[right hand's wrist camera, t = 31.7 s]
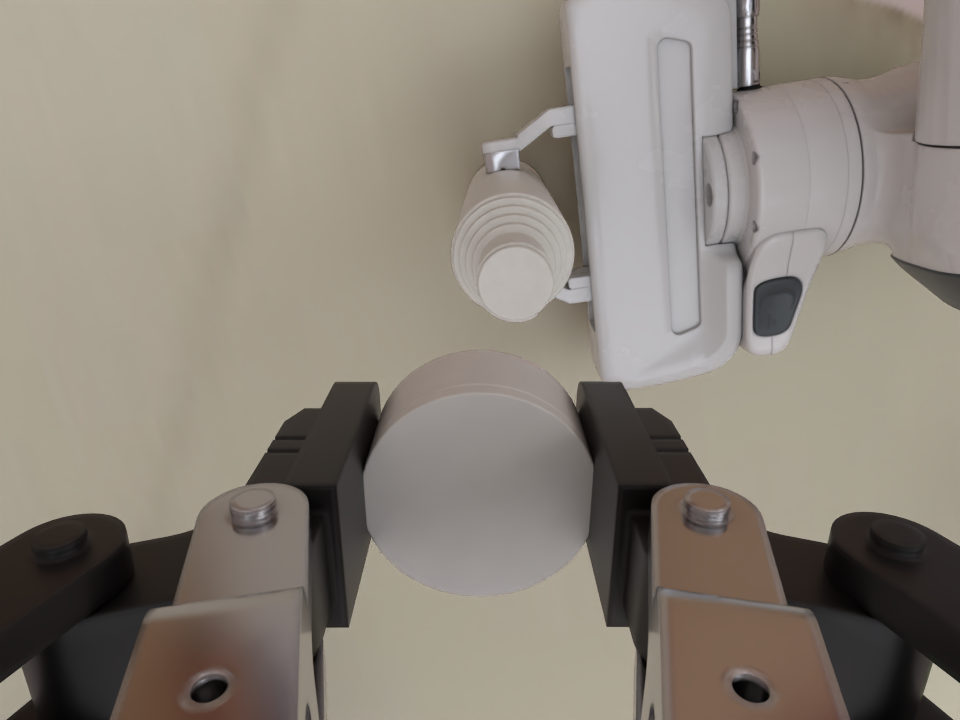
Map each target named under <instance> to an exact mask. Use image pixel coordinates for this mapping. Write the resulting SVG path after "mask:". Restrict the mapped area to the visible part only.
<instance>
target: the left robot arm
mask: <svg viewBox="0 0 960 720" xmlns="http://www.w3.org/2000/svg"><path fill="white" fill-rule="evenodd" d="M758 15H759V0H565V2H564V3H563V5H562V7H561V8H560V11H559V21H560V32H561V42H562V52H563V63H564V73H565V83H566V93H567V104H568V105H566V106H560V107H554V108H548V109H545V110H544V111H542V112H541V113H540V114H539V115H538V116H536V117H535V118H534V119H533V120H532V121H530V122H529V123H528V124H527V125H526V126H524V127H523V128H522V129H521V130H520V131H518V132H517V133H516V134H515V135H516V136H515V137H509V138H503V139H496V140H490V141H485V142H481V144H482V152H483V159H484V165H485V171H486V173H494V172H497V171H500V170H501V169H502V168H504V169H506V170H513V169H520V168H521V167H520V158H519V151H521V150H522V149H524V148H525V147H526V146H527V145H529V144H530V143H531V142H532V141H534V140H535V139H536V138H537V137H539V136H540V135H541V134H542V133H543V132H545V131H546V130H547V129H548V131H549V135H550V136H551V137H554V138H562V137H569V136H571V145H572V155H573V165H574V175H575V185H576V196H577V206H578V216H579V226H580V237H581V247H582V257H583V267H579V268H572V271H571V274H570V276H569V279H568V281H567V283H566V284H565V286H564V287H563V289H562V290H561V291H560V292H559V294H558V295H557V296H556V297H555V298H557V299H559V300H562V301H564V302H567V303H569V304H573V303H580V302H587V308H588V319H589V329H590V339H591V349H592V358H593V362H594V365H595V368H596V370H597V372H598V374H599V376H600V378H601V379H602V380H603V381H605V382H622V384H623V386H624V387H625V389H636V388H643V387H649V386H655V385H660V384H665V383H670V382H674V381H679V380H683V379H687V378H691V377H695V376H698V375H702V374H705V373H708V372H711V371H713V370H715V369H717V368H719V367H721V366H722V365H724V364H725V363H726V362H728V361H729V360H730V359H731V358H732V356H733V355H734V354H735V352H736V351H737V349H738V346H740V347H742V348H743V349H744V350H746V351H748V352H749V353H751V354H753V355H759V356H761V355H772V354H776V353H779V352H781V351H782V350H783V349H785V347H786V346H787V344H788V343H789V341H790V338H791V336H792V333H793V330H794V327H795V324H796V321H797V318H798V315H799V312H800V310H801V307H802V304H803V301H804V299H805V296H806V293H807V291H808V288H809V285H810V283H811V281H812V278H813V276H814V273H815V271H816V269H817V267H818V265H819V262H820V260H821V258H822V257H823V256H829V255H832V254H835V253H838V252H840V251H843V250H846V249H848V248H850V247H853V246H856V245H861V244H867V243H881V244H886V245H887V246H888V247H889V248H890V249H891V251H892V254H891V257H892V258H893V260H894V261H895V262H896V263H897V264H898V265H899V266H900V267H901V268H902V269H904V270H905V271H906V272H907V273H908V274H910V275H911V276H912V277H913V278H915V279H916V280H917V281H919V282H920V283H921V284H922V285H924V286H925V287H926V288H927V289H929V290H930V291H931V292H932V293H934V294H935V295H936V296H937V297H939V298H940V299H941V300H942V301H944V302H945V303H947V304H948V305H950V306H952V307H954V308H956V309H959V310H960V0H925V1H924V15H923V29H922V43H921V57H920V62H914V63H909V64H905V65H902V66H899V67H896V68H894V69H892V70H890V71H888V72H885V73H883V74H881V75H879V76H875V77H872V78H868V79H848V78H841V77H821V78H814V79H808V80H801V81H795V82H789V83H782V84H776V85H770V86H763V87H762V86H760V54H759V46H758V44H759V43H758V40H757V38H758V34H757V27H756V26H757V16H758ZM732 89H737V90H736V91H732Z"/></svg>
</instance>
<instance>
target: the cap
mask: <svg viewBox="0 0 960 720" xmlns="http://www.w3.org/2000/svg"><path fill="white" fill-rule="evenodd" d="M593 468H594V464H593V460H592V457H591V454H590V450H589V447H588V444H587V440H586V437H585V434H584V431H583V427H582V424H581V421H580V417H579V414H578V411H577V409H576V407H575V405H574V403H573V401H572V399H571V397H570V396H569V395H568V393H567V392H566V390H565V389H564V388H563V387H562V386H561V385H560V383H559V382H558V381H557V380H556V379H555V378H554V377H552V376H551V375H550V374H549V373H547V372H546V371H545V370H543V369H542V368H540V367H538V366H537V365H535V364H533V363H532V362H529V361H527V360H525V359H523V358H520V357H517V356H514V355H511V354H507V353H502V352H496V351H485V350H474V351H462V352H457V353H453V354H448V355H445V356H442V357H439V358H437V359H434V360H432V361H430V362H428V363H426V364H424V365H422V366H421V367H419V368H418V369H416V370H415V371H413V372H412V373H411V374H410V375H408V376H407V377H406V378H405V379H404V380H403V381H402V382H401V383H400V384H399V385H398V386H397V387H396V388H395V390H394V391H393V392H392V394H391V395H390V397H389V398H388V400H387V401H386V404H385V406H384V408H383V410H382V412H381V415H380V418H379V422H378V425H377V428H376V431H375V434H374V438H373V441H372V444H371V447H370V451H369V454H368V457H367V460H366V464H365V467H364V470H363V481H364V495H365V508H366V522H367V529H368V531H369V533H370V535H371V537H372V539H373V541H374V542H375V544H376V545H377V547H378V548H379V550H380V551H381V552H382V553H383V555H384V556H385V557H386V558H387V559H388V560H389V561H390V562H391V563H392V564H393V565H394V566H395V567H397V568H398V569H399V570H400V571H401V572H403V573H404V574H406V575H408V576H409V577H411V578H412V579H414V580H416V581H418V582H420V583H422V584H424V585H426V586H428V587H431V588H434V589H437V590H439V591H443V592H447V593H451V594H457V595H464V596H497V595H502V594H508V593H513V592H516V591H519V590H523V589H526V588H528V587H531V586H533V585H536V584H538V583H540V582H542V581H543V580H545V579H547V578H549V577H551V576H552V575H553V574H555V573H556V572H558V571H559V570H560V569H562V568H563V567H564V566H565V565H566V564H567V563H568V562H569V561H571V560H572V559H573V557H574V556H575V555H576V554H577V553H578V551H579V550H580V549H581V548H582V546H583V544H584V543H585V541H586V540H587V538H588V536H589V525H590V511H591V497H592V483H593Z"/></svg>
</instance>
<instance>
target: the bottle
mask: <svg viewBox="0 0 960 720" xmlns="http://www.w3.org/2000/svg"><path fill="white" fill-rule="evenodd" d="M520 167H521V168H520V169H513V170H506V169H504V168H502V169H501V170H500V171H497V172H494V173H486V171H485V166H483V167H482V168H481V169H480V170H479V171H478V172H477V173H476V174H475V175H474V177H473V178H472V180H471V182H470V185H469V187H468V191H467V194H466V197H465V200H464V203H463V207H462V210H461V213H460V216H459V220H458V223H457V226H456V229H455V232H454V236H453V240H452V244H451V263H452V269H453V272H454V275H455V277H456V280H457V282H458V284H459V285H460V287H461V288H462V290H463V291H464V292H465V293H466V295H467V296H468V297H469V298H470V299H472V300H473V301H474V302H475V303H477V304H478V305H480V306H481V307H483V308H485V309H486V310H487V311H488V312H489V313H490V314H492V315H493V316H495V317H497V318H498V319H501V320H504V321H508V322H523V321H527V320H531V319H533V318H535V317H537V316H538V314H537V313H539V312H540V311H541V310H542V309H543V308H544V307H545V306H546V305H547V304H548V303H549V302H550V301H552V300H553V299H554V298H555V297H556V296H557V295H558V294H559V292H560V291H561V290H562V289H563V287H564V286H565V284H566V283H567V281H568V279H569V276H570V274H571V271H572V268H573V263H574V242H573V237H572V234H571V231H570V229H569V226H568V224H567V223H566V221H565V219H564V217H563V216H562V214H561V212H560V210H559V209H558V207H557V205H556V204H555V202H554V200H553V198H552V197H551V195H550V193H549V191H548V190H547V188H546V186H545V184H544V183H543V181H542V179H541V178H540V176H539V175H538V173H537V172H536V171H535V170H534V169H533V168H532V167H530V166H529V165H528V164H526V163H524V162H522V161H520Z"/></svg>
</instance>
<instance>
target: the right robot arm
mask: <svg viewBox="0 0 960 720" xmlns="http://www.w3.org/2000/svg"><path fill="white" fill-rule="evenodd" d="M576 409H577V411H578V414H579V417H580V421H581V424H582V427H583V431H584V434H585V437H586V440H587V444H588V447H589V450H590V454H591V457H592V460H593V464H594V468H593V483H592V497H591V511H590V525H589V536H588V538H587V540H586V543H587V547H588V551H589V555H590V559H591V563H592V568H593V572H594V576H595V580H596V584H597V588H598V592H599V597H600V601H601V605H602V609H603V613H604V617H605V621H606V626H607V627H629V628H630V631H631V635H632V639H633V642H634V645H635V647H636V654H635V663H634V702H633V720H953V719H952V718H951V717H949V716H948V715H947V714H946V713H945V712H943V711H942V710H941V709H940V708H938V707H937V706H936V705H935V704H934V703H932V702H931V701H930V700H929V699H928V698H926V697H925V696H924V695H923V693H924V689H925V686H926V683H927V680H928V677H929V673H930V670H931V667H932V664H933V663H934V664H936V665H937V666H938V667H940V668H941V669H942V670H944V671H945V672H946V673H947V674H949V675H950V676H951V677H953V678H954V679H955V680H957V681H958V682H959V683H960V546H959V545H957V544H955V543H953V542H952V541H950V540H948V539H947V538H945V537H943V536H941V535H940V534H938V533H936V532H934V531H933V530H931V529H929V528H927V527H925V526H923V525H920V524H918V523H916V522H913V521H910V520H907V519H904V518H900V517H897V516H893V515H888V514H883V513H875V512H855V513H849V514H846V515H843V516H840V517H839V518H837V519H836V520H835V521H834V522H833V524H832V527H831V531H830V536H829V540H828V544H827V543H822V542H816V541H811V540H806V539H801V538H795V537H790V536H785V535H780V534H776V533H772V532H769V531H766V528H765V524H764V521H763V517H762V515H761V513H760V511H759V510H758V509H757V507H756V506H755V505H753V504H752V503H751V502H750V501H749V500H747V499H746V498H744V497H742V496H741V495H739V494H737V493H735V492H732V491H730V490H727V489H724V488H721V487H718V486H713V485H710V484H709V483H708V481H707V479H706V478H705V476H704V474H703V473H702V471H701V469H700V468H699V466H698V464H697V463H696V461H695V459H694V458H693V456H692V454H691V453H690V452H688V448H687V446H686V444H685V443H684V441H683V440H681V436H680V434H679V433H678V431H677V430H676V428H675V426H674V425H673V423H672V421H670V420H669V419H667V418H666V417H664V416H663V415H661V414H660V413H658V412H657V411H655V410H654V409H652V408H635V407H634V405H633V403H632V401H631V399H630V397H629V395H628V393H627V391H626V389H625V387H624V386H623V384H622V382H579V385H578V390H577V401H576ZM380 415H381V408H380V394H379V387H378V384H377V382H335V383H334V385H333V386H332V388H331V390H330V392H329V394H328V396H327V398H326V400H325V402H324V404H323V406H322V408H305V409H303V410H301V411H300V412H298V413H297V414H295V415H294V416H292V417H291V418H289V419H288V420H286V421H285V422H284V423H283V425H282V427H281V428H280V430H279V432H278V433H277V435H276V436H275V440H273V441H272V443H271V445H270V446H269V448H268V452H267V453H265V454H264V456H263V458H262V459H261V461H260V463H259V464H258V466H257V467H256V469H255V471H254V472H253V474H252V476H251V477H250V479H249V481H248V482H247V484H246V485H245V486H242V487H239V488H236V489H233V490H230V491H228V492H225V493H223V494H221V495H219V496H218V497H216V498H214V499H213V500H211V501H210V502H209V503H208V504H207V505H205V506H204V507H203V509H202V510H201V511H200V513H199V515H198V517H197V521H196V524H195V528H194V530H191V531H188V532H185V533H181V534H177V535H173V536H168V537H163V538H157V539H152V540H147V541H142V542H136V543H131V544H129V540H128V535H127V531H126V527H125V525H124V523H123V522H122V521H121V520H119V519H118V518H116V517H113V516H110V515H105V514H94V513H93V514H79V515H72V516H67V517H63V518H59V519H55V520H52V521H49V522H46V523H43V524H41V525H38V526H36V527H34V528H32V529H30V530H28V531H26V532H24V533H22V534H20V535H19V536H17V537H15V538H13V539H12V540H10V541H8V542H7V543H5V544H3V545H1V546H0V683H1V682H2V681H3V680H5V679H6V678H7V677H9V676H10V675H11V674H13V673H14V672H15V671H16V670H18V669H19V668H20V667H22V669H23V672H24V675H25V679H26V682H27V685H28V688H29V691H30V694H31V698H32V699H31V700H30V701H29V702H28V703H26V704H25V705H24V706H23V707H22V708H20V709H19V710H18V711H17V712H15V713H14V714H13V715H12V716H11V717H9V718H8V719H7V720H327V702H326V663H325V654H324V644H323V636H324V633H325V629H326V627H349V624H350V620H351V616H352V612H353V608H354V604H355V600H356V596H357V592H358V588H359V584H360V580H361V576H362V572H363V568H364V564H365V560H366V556H367V552H368V548H369V544H370V540H371V535H370V533H369V531H368V529H367V522H366V508H365V495H364V481H363V470H364V467H365V464H366V460H367V457H368V454H369V451H370V447H371V444H372V441H373V438H374V434H375V431H376V428H377V425H378V422H379V418H380Z"/></svg>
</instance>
